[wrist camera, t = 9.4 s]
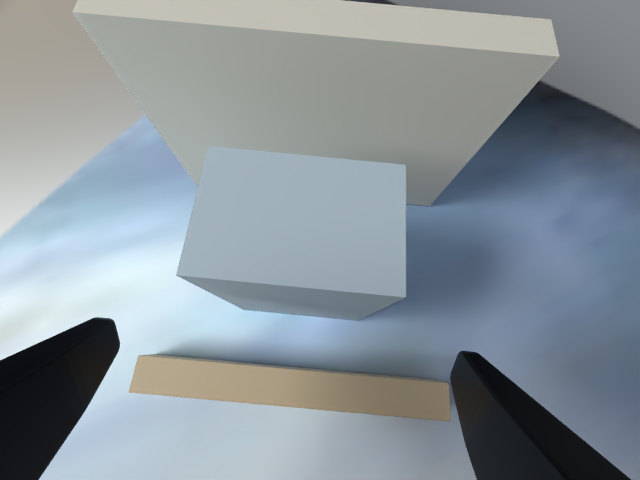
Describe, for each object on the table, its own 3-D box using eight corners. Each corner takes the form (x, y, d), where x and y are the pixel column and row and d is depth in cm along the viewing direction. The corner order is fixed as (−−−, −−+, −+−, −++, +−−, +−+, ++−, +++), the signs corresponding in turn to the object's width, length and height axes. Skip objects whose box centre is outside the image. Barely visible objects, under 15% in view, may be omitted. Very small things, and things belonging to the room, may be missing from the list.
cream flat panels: (437, 413, 15) (671, 543, 5) (146, 387, 15) (-158, 469, 5) (428, 184, 19) (550, 19, 9) (201, 163, 19) (89, -23, 9)
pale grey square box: (357, 320, 16) (406, 297, 8) (243, 309, 16) (176, 275, 8) (361, 235, 17) (405, 142, 9) (258, 225, 17) (214, 124, 9)
